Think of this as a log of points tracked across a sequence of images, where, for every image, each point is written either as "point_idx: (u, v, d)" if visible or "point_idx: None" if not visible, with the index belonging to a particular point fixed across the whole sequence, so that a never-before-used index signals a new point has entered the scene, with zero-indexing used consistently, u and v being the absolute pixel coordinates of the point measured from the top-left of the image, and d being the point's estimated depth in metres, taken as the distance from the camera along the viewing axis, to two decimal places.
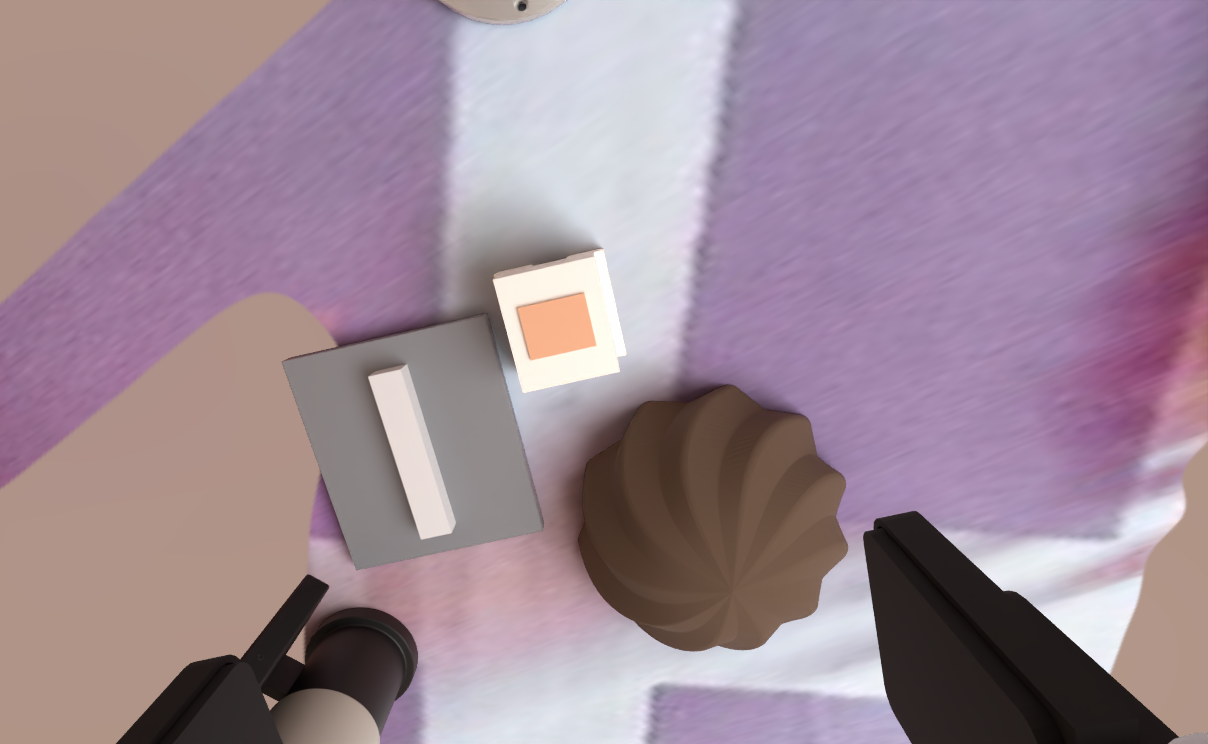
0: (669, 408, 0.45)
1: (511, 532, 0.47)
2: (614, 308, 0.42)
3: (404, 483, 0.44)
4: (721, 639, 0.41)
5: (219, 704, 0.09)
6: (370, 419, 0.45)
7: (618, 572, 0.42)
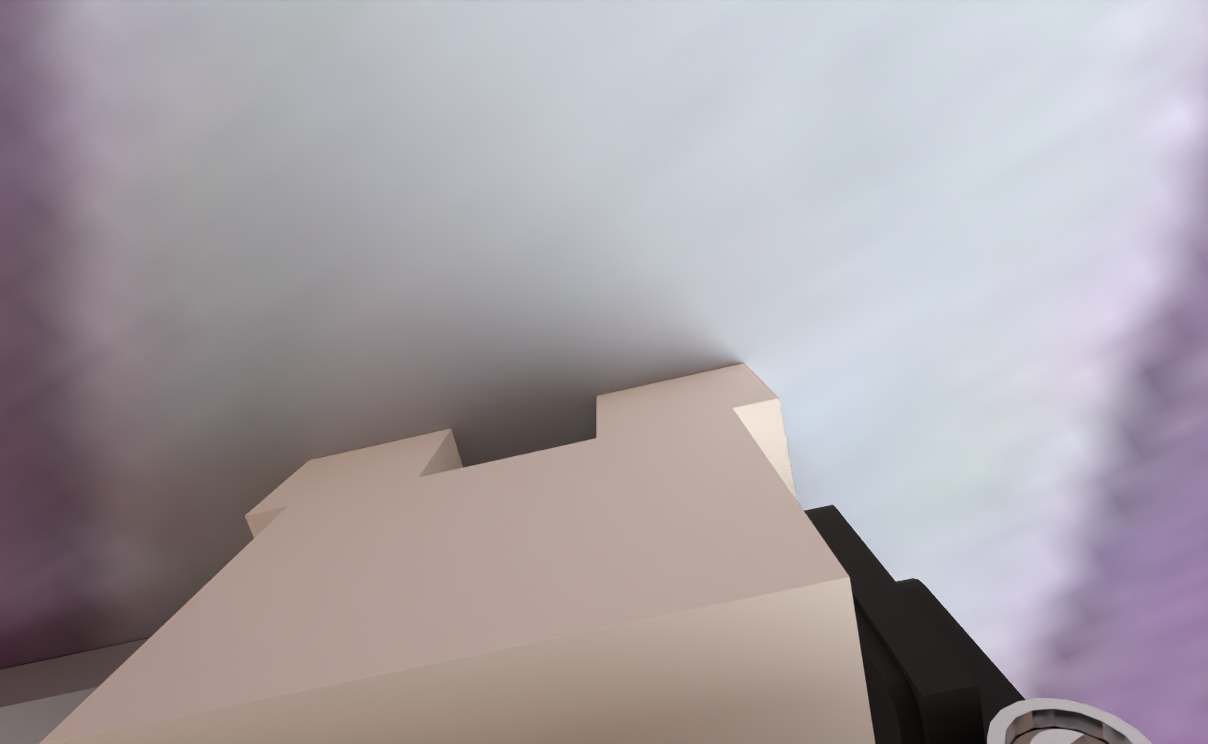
0: None
1: None
2: None
3: None
4: None
5: None
6: None
7: None
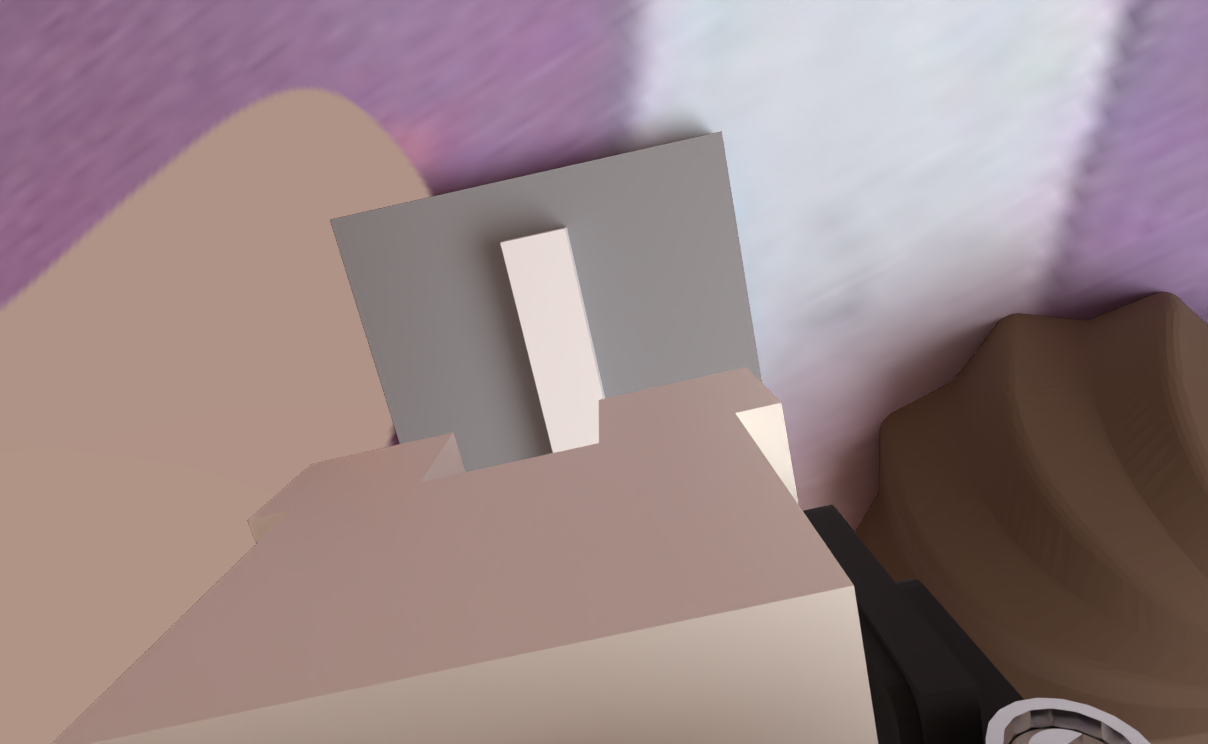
0: (1062, 326, 0.25)
1: None
2: None
3: None
4: None
5: None
6: (491, 334, 0.24)
7: (1004, 629, 0.21)
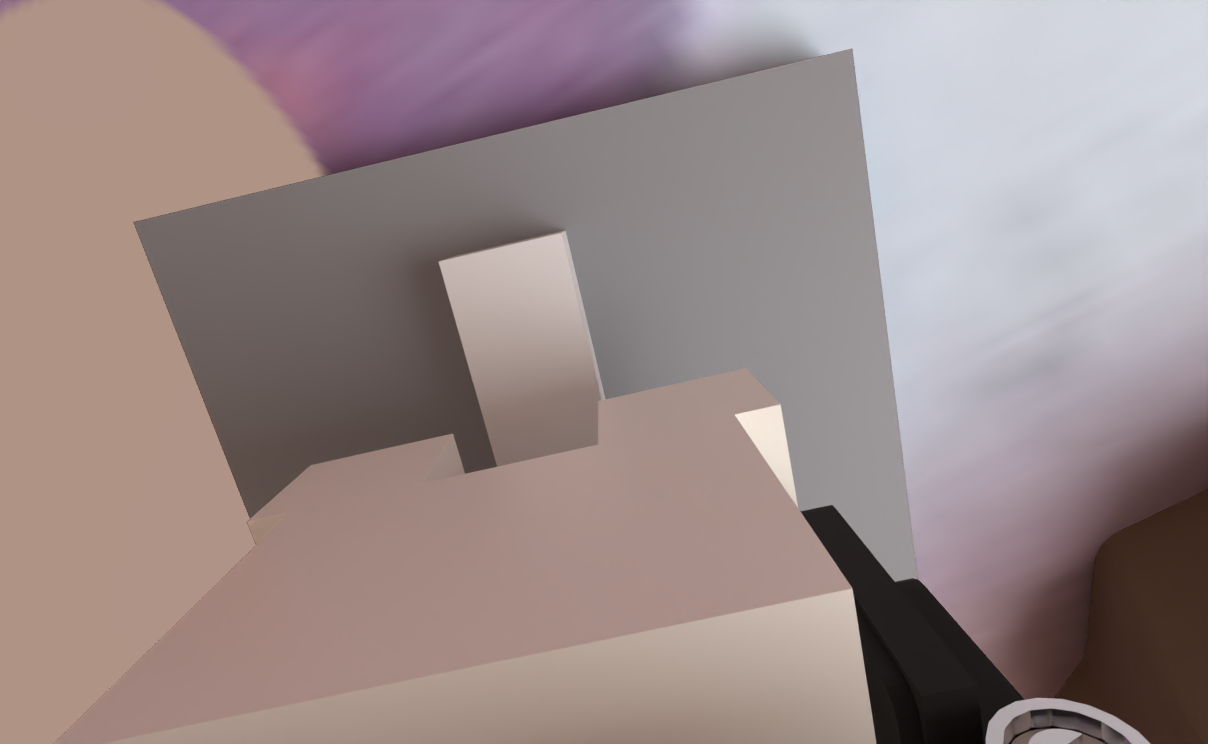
0: None
1: None
2: None
3: None
4: None
5: None
6: (435, 421, 0.14)
7: None
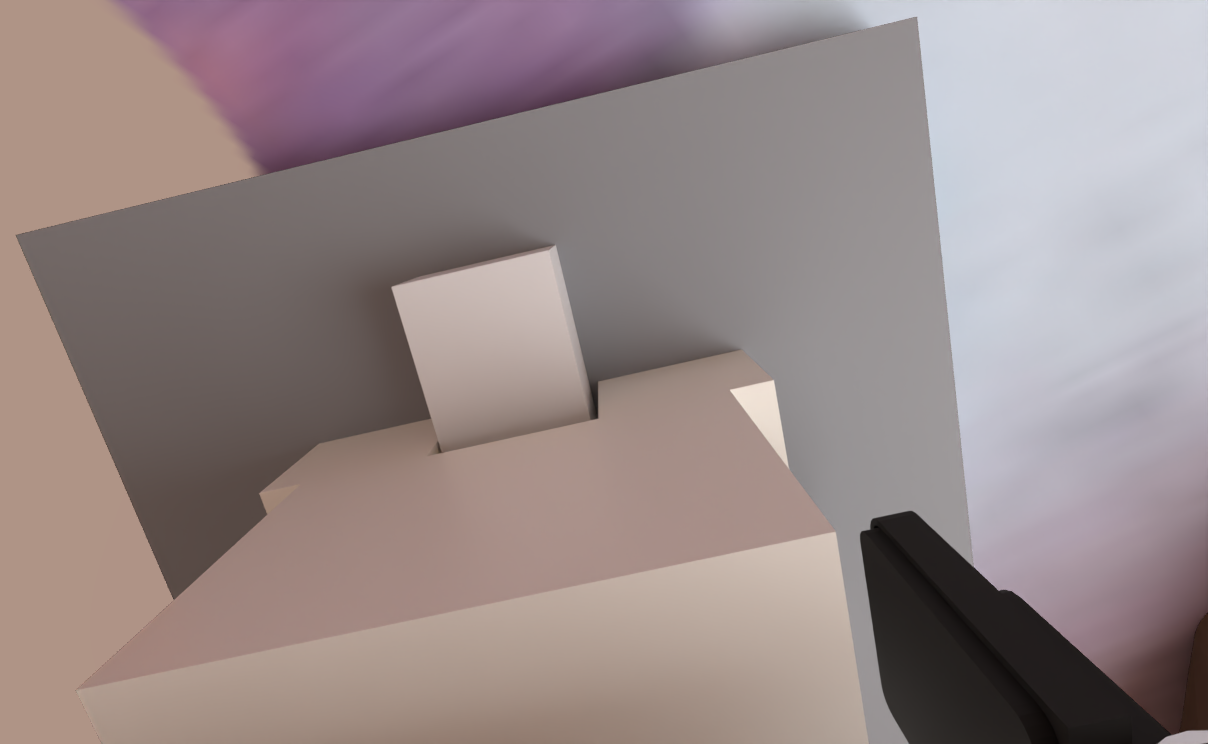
0: None
1: None
2: None
3: None
4: None
5: None
6: None
7: None
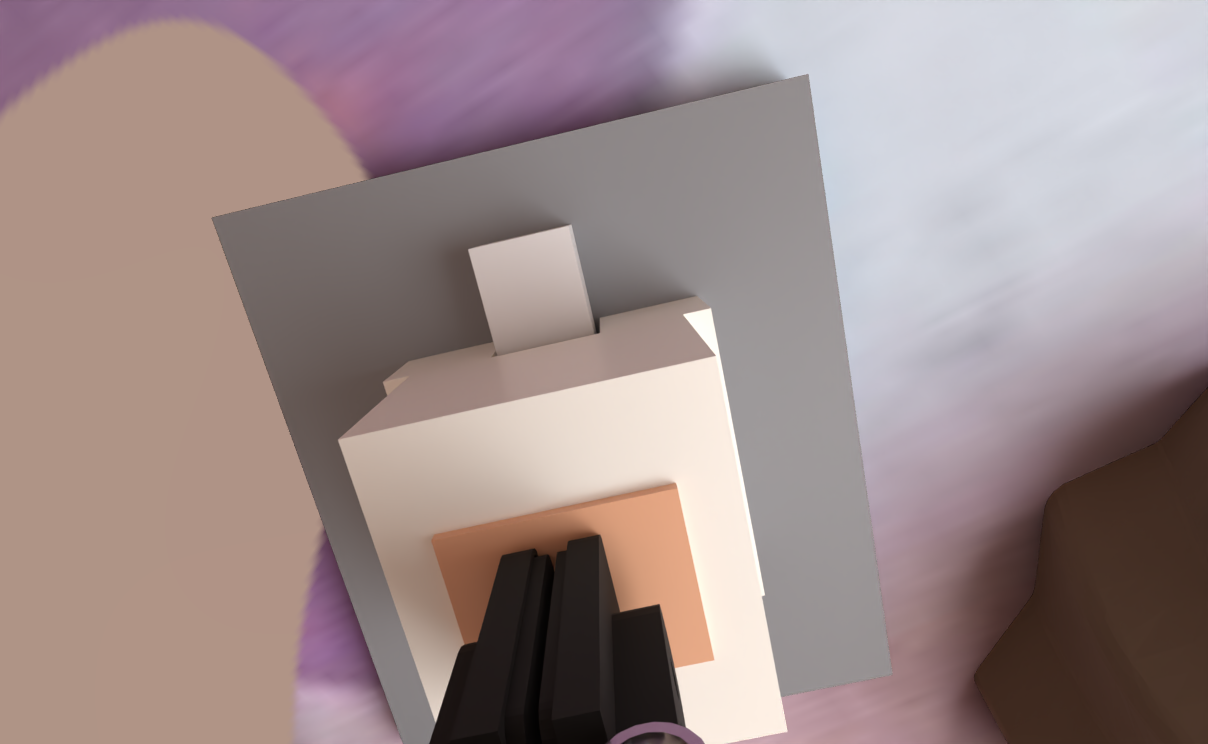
0: None
1: (811, 679, 0.18)
2: None
3: None
4: None
5: (547, 585, 0.10)
6: None
7: None
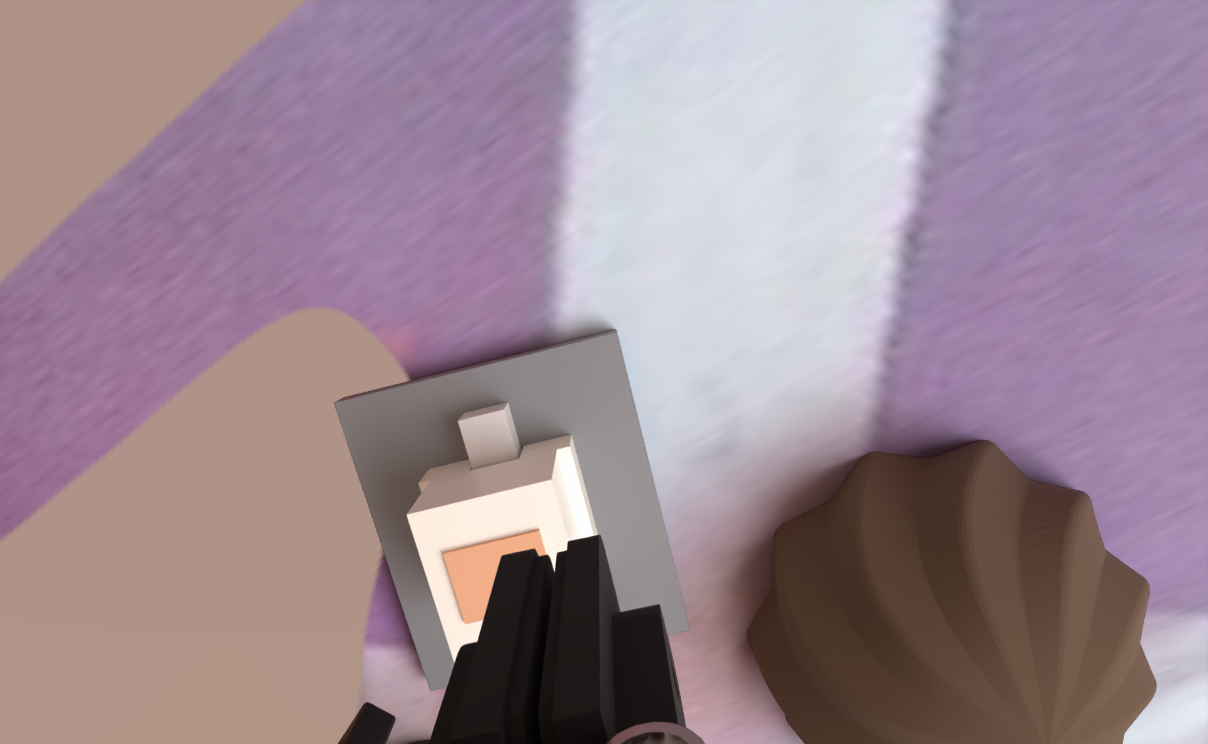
0: (907, 464, 0.33)
1: None
2: (587, 522, 0.31)
3: None
4: None
5: (547, 585, 0.10)
6: None
7: (847, 697, 0.29)
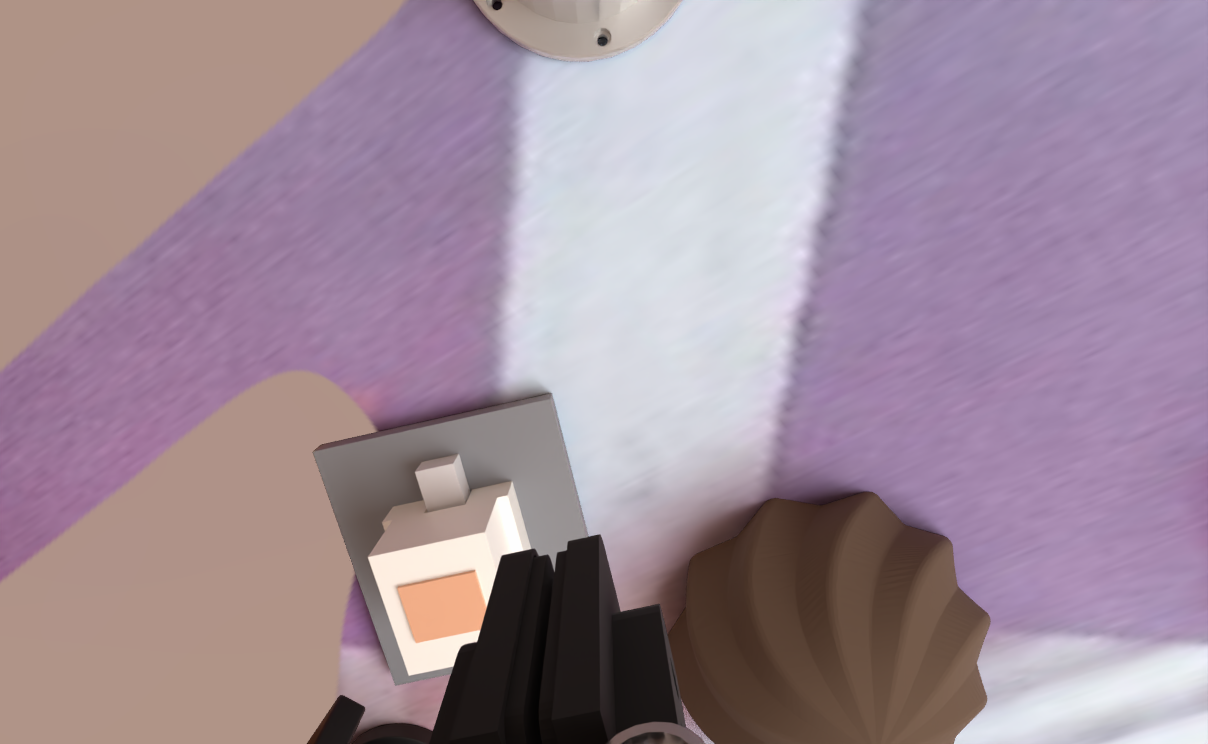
0: (800, 511, 0.39)
1: None
2: None
3: None
4: None
5: (547, 585, 0.10)
6: None
7: (730, 704, 0.35)
